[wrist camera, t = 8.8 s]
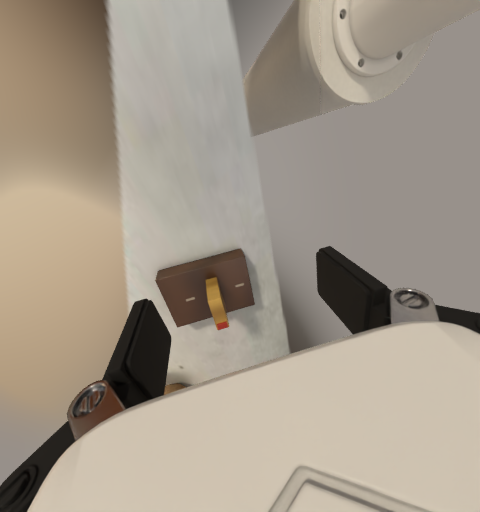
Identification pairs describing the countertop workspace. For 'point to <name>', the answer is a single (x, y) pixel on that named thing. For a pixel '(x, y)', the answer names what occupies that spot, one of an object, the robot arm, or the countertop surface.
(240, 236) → the countertop surface
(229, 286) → the plate
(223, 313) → the thumbturn
